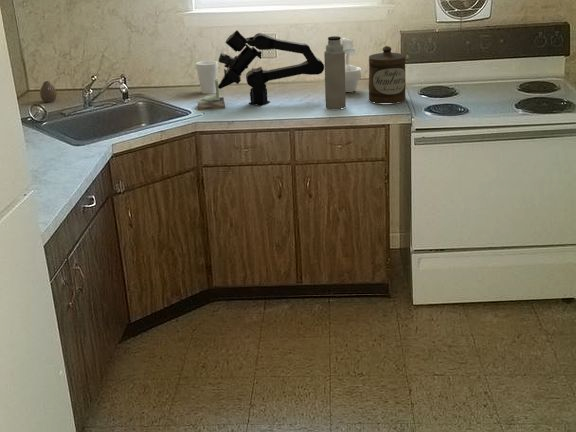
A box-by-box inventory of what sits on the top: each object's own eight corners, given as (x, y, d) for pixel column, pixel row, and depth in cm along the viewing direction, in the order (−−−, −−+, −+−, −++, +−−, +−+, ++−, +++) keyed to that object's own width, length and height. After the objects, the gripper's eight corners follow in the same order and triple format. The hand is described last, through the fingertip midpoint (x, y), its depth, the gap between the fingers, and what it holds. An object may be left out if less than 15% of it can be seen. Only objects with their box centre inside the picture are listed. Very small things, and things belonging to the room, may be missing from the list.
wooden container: (374, 106, 322) (374, 51, 313) (364, 97, 335) (364, 44, 327) (410, 103, 324) (411, 48, 316) (398, 94, 337) (399, 41, 329)
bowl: (212, 102, 334) (212, 97, 333) (212, 106, 329) (212, 101, 328) (197, 103, 334) (197, 98, 333) (198, 107, 328) (197, 102, 327)
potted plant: (332, 89, 351) (331, 31, 342) (359, 87, 352) (358, 29, 342) (336, 96, 340) (335, 36, 330) (363, 94, 340) (363, 34, 331)
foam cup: (218, 94, 352) (216, 64, 347) (197, 94, 352) (194, 65, 347) (220, 89, 361) (218, 60, 356) (199, 89, 361) (197, 60, 356)
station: (224, 103, 336) (223, 96, 335) (225, 108, 328) (224, 101, 327) (198, 105, 335) (197, 98, 334) (198, 110, 327) (197, 103, 326)
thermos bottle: (331, 104, 327) (329, 34, 317) (349, 106, 323) (348, 35, 313) (322, 108, 321) (320, 38, 310) (340, 110, 317) (338, 39, 307)
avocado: (49, 99, 357) (46, 79, 353) (61, 100, 353) (58, 80, 350) (38, 102, 351) (34, 82, 348) (49, 104, 348) (46, 84, 345)
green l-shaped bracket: (219, 96, 333) (217, 78, 331) (219, 100, 328) (218, 81, 325) (204, 97, 333) (203, 79, 330) (204, 101, 328) (203, 82, 325)
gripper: (228, 42, 332) (203, 70, 335) (230, 50, 315) (204, 80, 318) (248, 60, 336) (223, 87, 339) (251, 69, 318) (225, 98, 321)
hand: (218, 88), depth 329 cm, fingers closed, pressing on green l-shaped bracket
